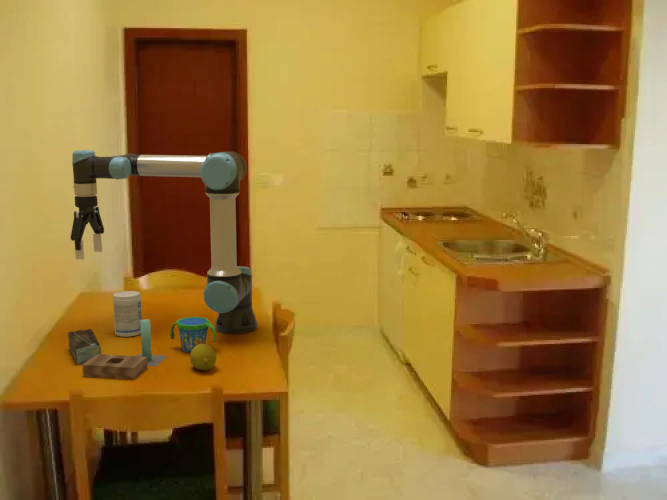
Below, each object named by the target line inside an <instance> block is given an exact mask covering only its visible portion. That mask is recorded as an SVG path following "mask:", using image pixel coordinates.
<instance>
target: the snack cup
mask: <svg viewBox="0 0 667 500" xmlns="http://www.w3.org/2000/svg"><path fill="white" fill-rule="evenodd" d="M175 326H177V329H178V334H179V340H180V345H181V349H182V351H183V352H184V353H189V354H191V351H192V349H193V348H194V347H195V346H197V345H199V344H207V338H208V330H209V328H210V330H211V332H212V333H213V338H212V343H213V344H214V343H215V342H216V340H217V337H218V336H217V330H216V326H214V325H213V324H212V323H211V322H210V320H209V319H208V318H206V317H202V316H187V317H183V318H182V317H181V318H180V319H178V320H176V321H175V322H174V323H173V324H172V325H171V326H170V331H169V335H170V339H171V340H174V339H175V335H176V334H175V331H174V330H175Z"/></svg>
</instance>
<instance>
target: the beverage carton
mask: <svg viewBox="0 0 667 500" xmlns="http://www.w3.org/2000/svg"><path fill="white" fill-rule="evenodd" d="M67 335H68V347H69V350H70V352H71V354H72V357H73V360H74V361H75V363H76V365H78V366H79V365H83V364H84V363H86V362H87V361H89V360H90V359H91V358H93V357H94V356H96V355H97V354H102V349H101V345H100V342H99V341H98V339H97V337H96V335H95V333H94V332H93V329H92V328H89V329H83V330H82V329H80V330H75V331H68V333H67Z"/></svg>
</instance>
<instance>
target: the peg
mask: <svg viewBox="0 0 667 500" xmlns="http://www.w3.org/2000/svg"><path fill="white" fill-rule="evenodd" d="M140 323H141V333H140V342H141V343H140V344H141V354H142V357H147V362H148V361H151V360H152V355H153V354H152V353H153V351H152V333H151V332H152V330H151V319H148V318H147V319H145V318H144V319H142V320H141V321H140Z"/></svg>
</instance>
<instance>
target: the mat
mask: <svg viewBox="0 0 667 500" xmlns="http://www.w3.org/2000/svg"><path fill="white" fill-rule="evenodd" d="M136 356H140V357H142V353H137V354H136ZM167 357H168V355H161V354H160V355H157V354H152V360H151V361H148V362H147V367H157V366H159V364H161V363H162V362H163V361H164V360H165V359H166V358H167Z"/></svg>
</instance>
